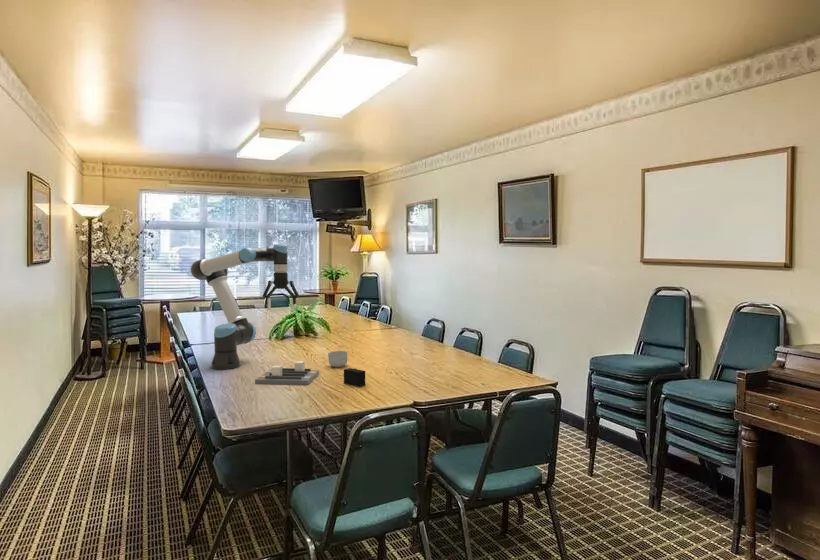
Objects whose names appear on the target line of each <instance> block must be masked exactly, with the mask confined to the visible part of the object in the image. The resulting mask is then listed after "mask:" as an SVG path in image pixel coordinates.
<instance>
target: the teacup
mask: <svg viewBox="0 0 820 560" xmlns="http://www.w3.org/2000/svg"><path fill="white" fill-rule="evenodd" d="M327 356H328V357H327V358H328V363H329V365H330V366H331V367H333V368H341V367H342V368H343V367H345V365H346V364H347V363H348V351H347V350H333V351H329V352H327Z"/></svg>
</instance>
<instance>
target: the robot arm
mask: <svg viewBox="0 0 820 560" xmlns="http://www.w3.org/2000/svg"><path fill="white" fill-rule="evenodd" d="M253 262H273V280H268V281H267V285H266V288H265V290H264V292H263V293H262V298H265V304H266V305H267V311H270V310H271V309H272V308H271V306H272V305H271V304H272V303H271V298H270V297H271V296H272V294H273V293H274V292H275V291H276V290H277V289H278V290H279V289H281V290H283V289H284V290H286V291H287V293H288V294H289V296H290V297H291V300H290V301H291V306H290V307H291V310H290V311H294V310H295V305H296V304H297V298H299V297H300V295H299V292H298V290H297V289H296V286H295V284H294V280H290V281H289V280H288V279H289V278H288V276H289V275H288V246H287V244H280V243H279V244H273V246H272V247H249V246H248V247H243V248H241V249H240V250H237V251H234V252H231V253H227V254H223V255H221V256H220V255H219V256H217V257H213V258H209V259H208V258H202V259H198V260H195V261H193V263H192V264H191V267H190V274H191V276H192V277H194V279H196V280H198V281H206V283H207V284H208V286H209V287H212V289H213V292H214V293H215V296H216V298H217V300H218V303H219V304H220V307H221V309H222V311H223V314H224V317H225V318H226V320H227V323H225V324H224V323H223V324H219V325H217V326H215V327H214V333H213V338H214V341H213V342H214V355H213V358H212V362H211V368H212V369H214V370H231V369H236V368H240V367H241V360H240V357H239V355H238V351H237V349H238V346H240V345H247V344H248V343H250V342H252V341H253V340H255V338H256V335H257V329H256V326H255V324H253V323H251V322H250V321H248V319H247V317H246V316H243V314H242V312H241V309H240V308H239V306H238V303H237V301H236V299H235V296H234V294H233V292H232V290H231V287H230V286H229V284H228V281H227V280H228V279H229V277H228V274H229V269H230V268H234V267H238V266H240V265H245V264H248V263H253ZM288 284H289V286H290V287H291V289H290V287H289V286H288ZM272 285H274V286H273V287H272ZM271 287H272V289H271ZM270 289H271V290H270Z"/></svg>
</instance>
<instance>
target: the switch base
mask: <svg viewBox="0 0 820 560" xmlns="http://www.w3.org/2000/svg"><path fill="white" fill-rule="evenodd" d="M319 375H320V370H318V369H316V370H315V369H312V368H305V371H295V367H294V368H293V367H292V368H291V367H290V368H289V367H287V368H286V367H282V376H272V368H271V369H269V370H268V371H266V372H265V373H263V374H261V375H260V376H259V377H257V378H256V379H254V380H255V381H254V383H255V384H254V385H291V386H292V385H293V386H296V385H298V386H299V385H301V386H309V384H311V382H313V381H314V379H316V378H317V376H319Z"/></svg>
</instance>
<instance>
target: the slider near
mask: <svg viewBox="0 0 820 560" xmlns="http://www.w3.org/2000/svg"><path fill="white" fill-rule="evenodd" d="M282 368H283V365H273V366H271V369H272V376H282Z"/></svg>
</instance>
